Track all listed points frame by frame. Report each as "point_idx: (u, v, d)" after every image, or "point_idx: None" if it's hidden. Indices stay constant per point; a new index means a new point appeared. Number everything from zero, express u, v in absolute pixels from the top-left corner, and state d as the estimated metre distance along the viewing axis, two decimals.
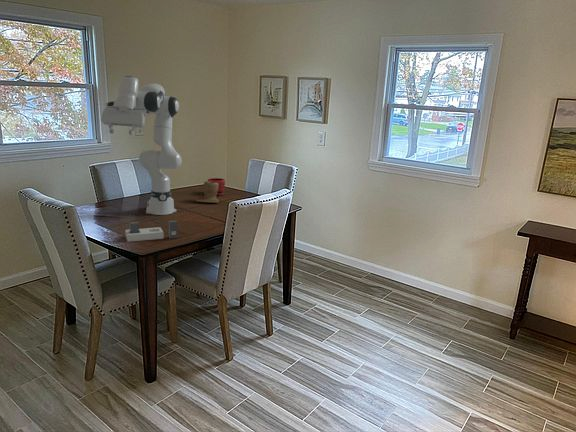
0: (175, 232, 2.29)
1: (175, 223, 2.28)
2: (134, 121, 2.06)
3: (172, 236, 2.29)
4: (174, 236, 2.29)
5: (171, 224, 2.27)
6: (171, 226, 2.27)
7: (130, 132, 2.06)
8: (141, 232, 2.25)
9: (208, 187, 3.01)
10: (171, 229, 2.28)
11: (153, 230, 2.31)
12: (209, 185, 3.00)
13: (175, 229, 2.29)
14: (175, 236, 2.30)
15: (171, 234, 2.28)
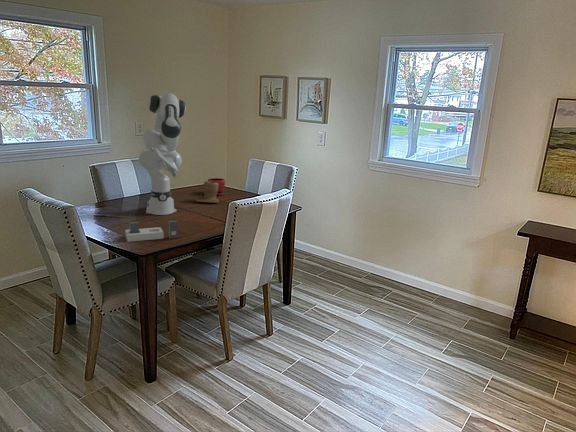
0: (175, 232, 2.29)
1: (175, 223, 2.28)
2: None
3: (172, 236, 2.29)
4: (174, 236, 2.29)
5: (171, 224, 2.27)
6: (171, 226, 2.27)
7: (164, 169, 2.16)
8: (141, 232, 2.25)
9: (208, 187, 3.01)
10: (171, 229, 2.28)
11: (153, 230, 2.31)
12: (209, 185, 3.00)
13: (175, 229, 2.29)
14: (175, 236, 2.30)
15: (171, 234, 2.28)
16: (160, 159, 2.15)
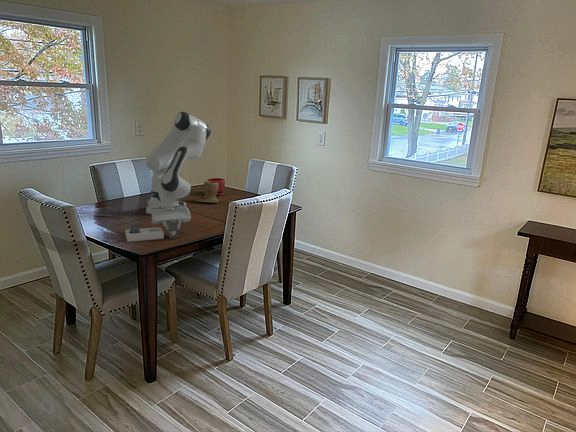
0: (175, 232, 2.29)
1: (175, 223, 2.28)
2: None
3: (172, 236, 2.29)
4: (174, 236, 2.29)
5: (171, 224, 2.27)
6: (171, 226, 2.27)
7: None
8: (141, 232, 2.25)
9: (208, 187, 3.01)
10: (171, 229, 2.28)
11: (153, 230, 2.31)
12: (209, 185, 3.00)
13: (175, 229, 2.29)
14: (175, 236, 2.30)
15: (171, 234, 2.28)
16: (157, 221, 2.27)
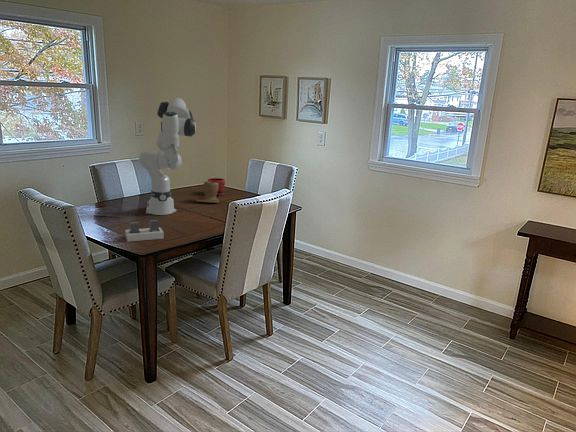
0: None
1: (156, 222, 2.27)
2: (170, 159, 2.30)
3: None
4: None
5: (152, 223, 2.26)
6: (152, 225, 2.27)
7: (171, 168, 2.34)
8: (141, 232, 2.25)
9: (208, 187, 3.01)
10: (152, 228, 2.27)
11: None
12: (209, 185, 3.00)
13: (156, 228, 2.28)
14: None
15: None
16: None
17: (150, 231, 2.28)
